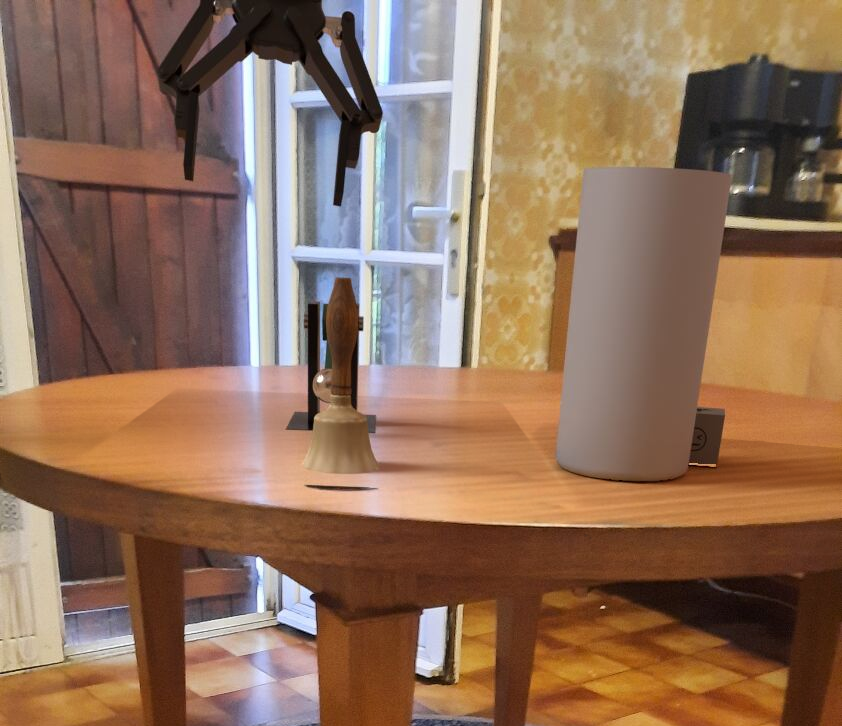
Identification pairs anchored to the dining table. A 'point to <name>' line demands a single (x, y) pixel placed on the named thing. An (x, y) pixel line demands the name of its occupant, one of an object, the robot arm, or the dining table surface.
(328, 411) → the hand bell
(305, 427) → the bracket
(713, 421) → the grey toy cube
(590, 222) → the cylinder vase
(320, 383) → the lever
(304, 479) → the dining table surface
